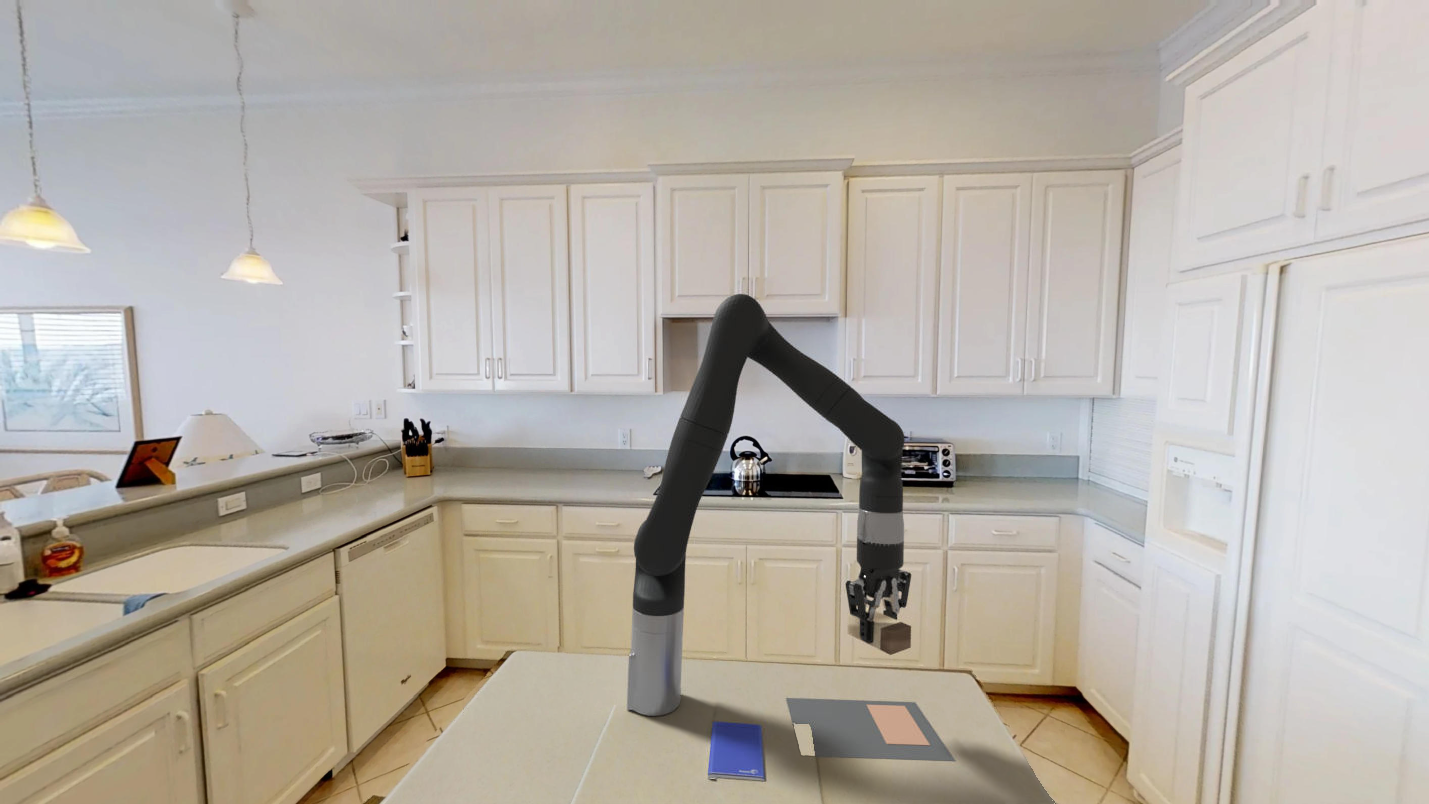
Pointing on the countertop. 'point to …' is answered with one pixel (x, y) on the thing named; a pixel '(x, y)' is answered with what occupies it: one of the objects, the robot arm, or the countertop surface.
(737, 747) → the hard drive
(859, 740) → the rubber mat
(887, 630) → the beige rectangular block
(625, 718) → the countertop surface
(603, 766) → the countertop surface
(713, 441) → the robot arm
